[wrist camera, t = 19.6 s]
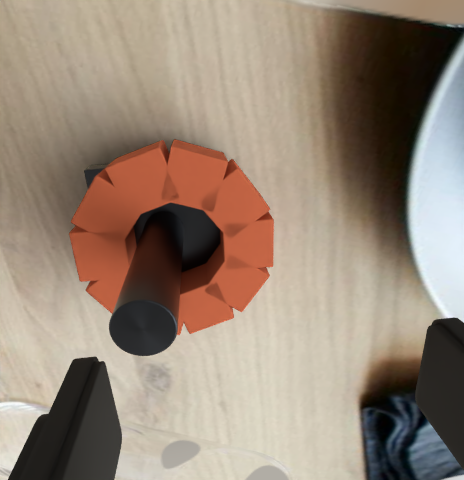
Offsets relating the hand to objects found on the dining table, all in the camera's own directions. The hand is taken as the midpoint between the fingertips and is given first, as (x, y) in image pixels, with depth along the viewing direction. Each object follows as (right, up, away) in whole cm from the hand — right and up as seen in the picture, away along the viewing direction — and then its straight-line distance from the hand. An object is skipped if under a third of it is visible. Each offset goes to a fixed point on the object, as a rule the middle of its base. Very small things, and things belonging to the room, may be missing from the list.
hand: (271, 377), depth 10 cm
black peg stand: (-5, +5, +13) cm, 15 cm away
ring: (-4, +4, +12) cm, 13 cm away
